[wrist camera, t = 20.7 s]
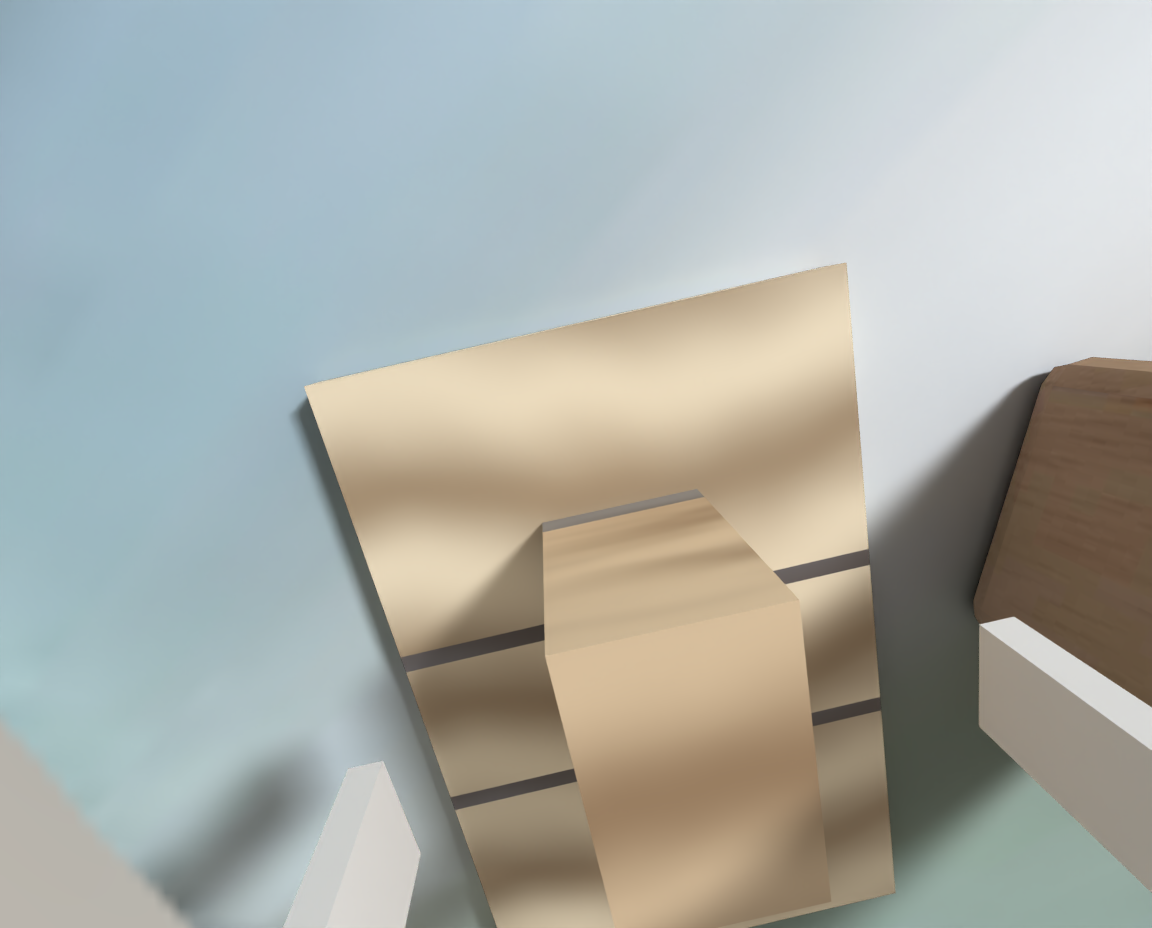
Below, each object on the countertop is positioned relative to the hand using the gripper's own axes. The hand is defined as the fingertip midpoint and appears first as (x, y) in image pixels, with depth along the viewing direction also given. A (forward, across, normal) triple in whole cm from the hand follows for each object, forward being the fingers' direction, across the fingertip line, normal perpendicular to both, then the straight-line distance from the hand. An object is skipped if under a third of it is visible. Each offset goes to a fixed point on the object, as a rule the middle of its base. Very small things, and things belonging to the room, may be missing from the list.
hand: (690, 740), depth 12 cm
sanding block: (+6, 0, -1) cm, 6 cm away
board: (+7, 0, -4) cm, 8 cm away
